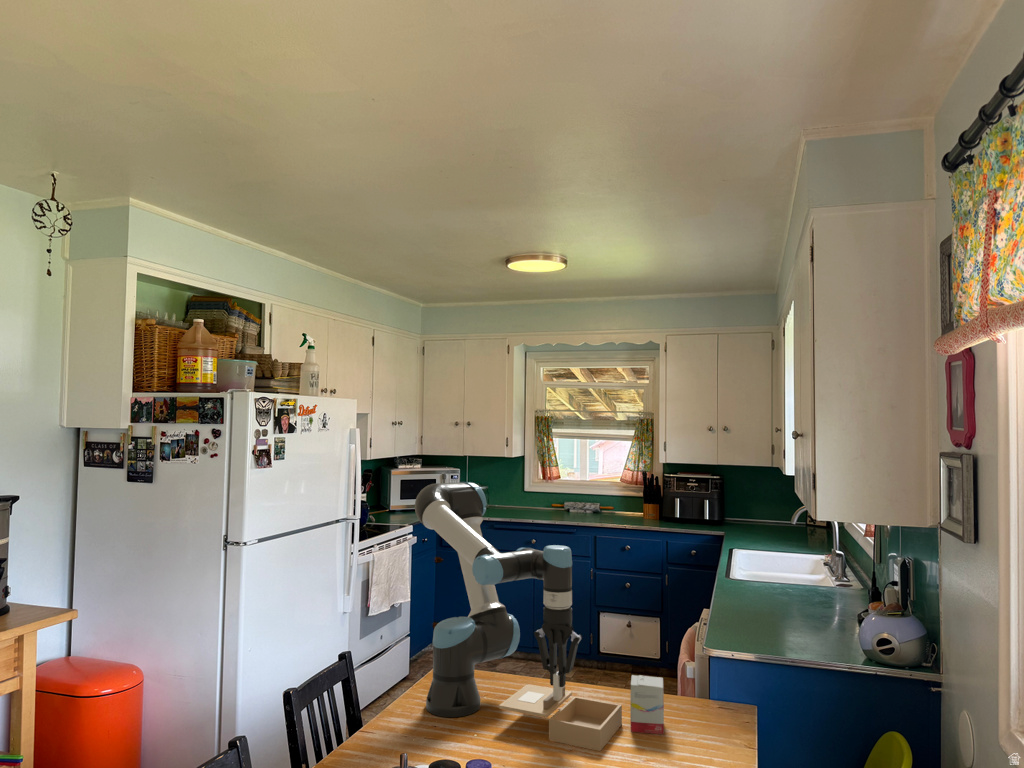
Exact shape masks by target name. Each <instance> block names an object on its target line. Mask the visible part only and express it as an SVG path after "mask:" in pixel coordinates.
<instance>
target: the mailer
mask: <svg viewBox="0 0 1024 768" xmlns="http://www.w3.org/2000/svg"><path fill="white" fill-rule="evenodd" d="M622 711H623V705H622V704H620V703H612V702H609V701H608V702H607V701H602V700H596V699H590V698H585V697H579V696H573V697H572V698H570V700H568V701H567V702H566V703H565V704H564V705H563V706H562V707H560V708H559V710H557V711H556V712H555V713H554V714H553V715H552V716H551V717H550V718H549V719H548V741H551V742H554V743H555V742H556V743H559V744H564V745H569V746H574V747H579V748H584V749H589V750H593V751H598V752H601V751H602V750H603V749H604V747H605V746H606V745H608V744H607V743H608V742H609V741H610V740H611V739H612V737H613V736H614V735H615V734H616V733H617V732H618V730H619V729H620V728H621V726H622V725H623V713H622ZM619 727H620V728H619Z"/></svg>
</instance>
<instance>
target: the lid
mask: <svg viewBox="0 0 1024 768" xmlns="http://www.w3.org/2000/svg"><path fill="white" fill-rule="evenodd" d="M572 695H573V692H572V691H569V690H566V685H565V686H564V687H562V698H561V699H560V700H559V701H555V700H553V688H552V687H547V686H541V685H535V684H529V683H527V684H526V685H524V686H523V687H521V688H520V689H519V690H518V691H516V692H515V693H514V694H512V695H510V696H508V698H507V699H505V700H504V701H503V702H501V703H500V704H499V705H498V709H499V710H504V711H509V712H515V713H521V714H526V715H529V716H530V715H531V716H535V717H541V718H546V719H547V718H548V717H549V716H550V715H552V714H553V713H554V712H555V711H556V710H557V709H558V708H559V707H560V706H561V705H563V704H564V703H565V702H566V701H567V700H568V699H570V697H572Z"/></svg>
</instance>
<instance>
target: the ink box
mask: <svg viewBox="0 0 1024 768" xmlns="http://www.w3.org/2000/svg"><path fill="white" fill-rule="evenodd" d="M630 679H631V680H630V731H631V732H632V733H642V734H653V735H654V734H656V735H664V733H665V731H664V729H665V710H664V709H665V708H664V707H665V700H664V699H665V698H664V693H665V692H664V689H665V688H664V678H663V677H659V676H658V677H657V676H651V675H650V676H649V675H641V674H639V675H637V674H631V678H630Z"/></svg>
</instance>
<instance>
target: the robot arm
mask: <svg viewBox="0 0 1024 768" xmlns="http://www.w3.org/2000/svg"><path fill="white" fill-rule="evenodd" d="M414 501H415V502H414V510H415V511H414V512H415V515H416V517H417V519H418V520H419V522H420V523H421V524H422V525H423V526H424V527H425V528H427V529H429V530H434V531H435V532H436V533H437V535H439V536H440V537H441V538H442V539H444V541H445V542H446V543H448V544H449V545H450V546H451V547H452V548H453V549H454V550H455V551H456V552H457V556H458V559H459V564H460V569H461V572H462V575H463V581H464V585H465V590H466V593H467V596H468V601H469V606H470V612H469V614H468V616H458V617H457V616H454V617H453V616H452V617H449V618H446V619H442V620H441V621H440V622H438V623H437V624H436V625H435V626H434V629H433V634H432V635H433V636H432V681H431V682H430V686H429V690H428V693H427V696H426V701H425V709H426V711H427V712H428V713H430V714H431V715H434V716H438V717H441V718H442V717H444V718H461V717H465V716H469V715H473V714H475V713H476V712H478V711H479V710H480V708H481V696H480V695H481V694H480V693H479V688H478V686H477V683H476V679H475V666H476V665H478V664H482V663H485V662H489V661H494V660H500V659H504V658H505V657H508V656H511V655H512V654H513V653H514V652H515V651H516V650H517V649H518V647H519V646H518V645H519V643H520V638H521V632H520V631H521V630H520V625H519V622H518V620H517V618H515V616H514V615H513V614H510V613H508V611H507V608H506V606H505V605H504V604H503V603H501V602H500V601H499V596H498V593H497V590H496V586H495V585H497V584H502V583H507V582H513V581H520V580H526V579H537V580H540V581H543V602H542V603H543V605H544V607H543V613H542V614H543V624H542V626H541V628H540V629H537V630H536V631H534V632H533V635H534V637H535V639H536V641H537V645H538V649H539V655H540V660H541V665H542V668H543V670H544V671H548V672H549V684H550V686H552V687H553V700H555V701H559V700H560V699H561V698H562V687H564V686H565V687H566V683H567V681H566V680H567V679H566V676H567V675H566V674H570V672H572V671H573V669H574V665H575V664H574V663H575V660H576V656H577V651H578V646H579V643H580V642H581V640H582V638H583V636H582V635H581V634H577V632H575V631H574V630H575V629H574V627H573V608H572V607H571V606H572V605H573V560H572V559H573V556H572V550H571V548H570V547H569V546H566V545H559V544H557V545H556V544H553V545H550V544H549V545H546V546H544V548H543V550H539V549H534V548H532V547H519V548H517V549H516V550H515V551H508V552H500V551H499V550H498V549H497V548H496V547H494V545H492V544H491V543H490V542H488V541H487V540H486V539H485V538H484V537H483V533H482V529H481V524H482V522H483V521H484V518H483V516H484V515H485V513H486V511H487V507H486V506H487V498H486V495H485V492H484V491H483V489H482V487H481V486H479V485H478V484H476V483H475V482H471V481H469V482H466V481H460V482H444V483H443V482H442V483H431V484H428V485H427V486H425V487H424V488H421V490H420V492H418V494H417V496H416V498H415V500H414ZM545 636H546V637H545ZM570 637H571V638H570ZM546 638H547V641H548V646H547V641H546ZM569 639H570V641H571V643H570V646H569V652H568V654H567V645H568V640H569ZM548 649H549V651H548Z"/></svg>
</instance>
